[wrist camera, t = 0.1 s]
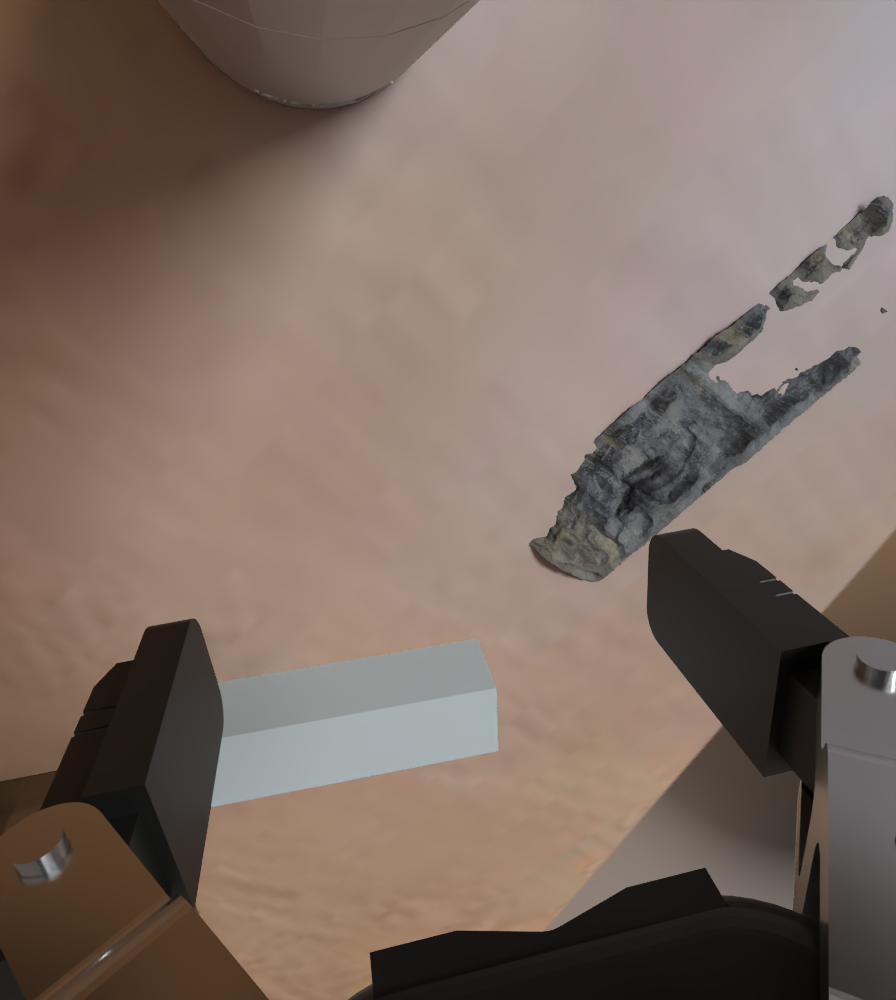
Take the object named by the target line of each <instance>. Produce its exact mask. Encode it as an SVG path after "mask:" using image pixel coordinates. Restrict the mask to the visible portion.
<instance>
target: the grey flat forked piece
mask: <svg viewBox="0 0 896 1000" xmlns="http://www.w3.org/2000/svg"><path fill="white" fill-rule="evenodd" d="M892 209H893V203H892V201H891V200H890V199H889V198H888V197H885V196H882V197H877V198H876V199H874V200H873V201H872V202H871V203H870V204H869V205H868V207H867V208H866V209H864V211H863V212H862V213H859V214H858V215H857V216H856V217H855V218H854V219H853V220H852V221H851V222H850V223H849V224H847V225H846V226H845V227H844V228H843V229H842V230H841V231H840V232H839V233H838V234H837V235H835V236H834V237H833V238H834V239H835V240H836V246H837V247H838V248H842V249H845V250H851V249H853V248H854V247H855V248H857V250H856V252H855V254H853V255H851V256H850V258H849V259H848V260H847V261H846V262H844V263H843V266H842V267H841V266H835V265H833V264H832V263H831V262H830V261H829V260H828V259H827V258H826V256H825V251H826V247H827V246H826V245H825V246H824V247H821V248H820V249H819V250H818V251H817V252H815V253H814V254H813V255H811V256H810V257H809V258H808V259H807V260H806V261H804V263H803V264H802V265H801V266H800V267H798V268H797V269H796V270H795V271H794V272H793V273H792V274H791V275H790V276H787V279H785V280H783V281H782V282H781V283H780V284H779V285H778V286H777V287H776V288H775V289H774V290H772V291H771V292H770V295H772V296H773V297H774V298H775V301H776V303H777V305H778V306H779V310H780V311H786V310H789V309H793V308H795V307H796V306H801V305H803V304H804V303H806V302H809V301H812V300H813V299H814V297H815V296H816V295H817V294H818V293H819V291H818V290H814V291H809V292H807V291H804V289H803V288H800V287H799V286H793V280H795V279H796V278H799V279H800V280H801V281H803V282H808V281H810V282H813V281H816V282H819V284H822V283H823V282H824V281H826V280H827V279H828V277H829V276H830V275H831V274H832V273H834V272H840V271H841V269H842V268H844V269H849V270H850V267H851V266H852V264H853V263H854V261H855V260H856V258H857V257H858V255H859V254H860V252H861V251H862V249H863V247H864V244H865V241H866V239H867V237H868V236H871V237H872V236H882V235H884V234H885V233H887V232H888V231H889V229H890V226H891V225H890V224H891V223H892V221H893V213H892ZM769 309H770V308H769V307H768V306H767V305H765V307H764V305H762V304H759V303H758V304H757V305H756V306H755V307H753V308H752V309H751V310H750V311H749V312H748V313H746V314H745V315H743V316H742V318H741V319H739V320H738V321H737V322H736V323H735V324H734V325H733V326H730V327H729V329H726V330H723V331H722V332H721V333H720V334H719V335H716V336H714V338H713V339H711V340H710V342H709V343H708V344H707V345H706V346H705V347H703V348H702V349H701V351H700V352H698V353H695V354H694V356H692V357H691V359H690V360H688V362H686V363H685V364H683V365H682V366H681V367H680V368H679V369H678V370H677V371H675V372H674V373H671V375H669V376H667V378H666V379H664V380H663V381H662V382H661V383H659V384H658V385H657V386H656V387H655V388H654V389H653V390H652V391H650V392H649V393H648V394H647V395H646V397H645V398H644V400H642V401H640V402H638V403H637V404H636V405H634V406H632V407H631V408H630V409H629V410H628V411H627V412H625V413H624V414H623V415H622V416H621V417H620V418H619V419H618V420H617V421H616V422H614V423H613V424H612V425H611V426H610V427H609V428H608V429H607V430H606V431H605V432H603V433H602V434H601V436H598V437H597V438H596V439H595V441H594V443H595V445H596V447H597V449H596V450H595V451H594V452H593V454H586V455H585V461H584V462H583V463H582V464H581V466H580V468H579V469H578V471H577V472H575V473H574V474H571V475H572V478H573V480H574V483H575V485H576V486H577V488H576V490H575V491H574V492H573V493H571V494H570V495H568V496H567V497H565V500H564V505H563V508H562V509H561V510H559V511H557V512H558V515H557V516H556V517H557V521H556V524H555V526H553V527H551V528H550V530H549V533H548V535H547V536H546V537H541V538H536V539H533V540H532V541H531V542H530V543H529V544H530V546H533V547H534V548H535V550H536V551H537V552H539V553H540V554H541V556H542V557H544V558H545V559H546V560H547V561H549V562H550V563H551V564H553V565H556V567H558V568H560V570H563V571H565V572H569V573H571V574H572V575H573V576H577V577H578V578H582V579H583V580H589V581H595V582H596V581H600V580H602V579H603V578H605V577H606V576H608V574H609V573H611V572H612V571H613V570H614V569H615V568H616V567H617V566H618V565H621V563H622V562H623V561H624V560H625V559H626V558H628V557H629V556H630V555H632V553H633V552H635V551H637V550H638V549H639V548H641V547H642V546H644V544H645V543H646V542H647V541H649V540H650V539H651V537H653V536H655V535H656V534H657V533H658V532H659V531H661V530H662V529H663V528H664V527H666V526H667V525H668V524H669V523H670V522H671V521H672V520H673V519H675V518H676V517H677V516H678V515H679V514H680V513H681V512H683V511H684V510H685V509H686V508H687V507H688V506H690V505H691V504H692V503H693V502H694V501H695V500H697V498H699V497H700V496H702V494H704V493H705V492H706V491H707V490H708V489H710V487H712V486H713V485H714V484H715V483H716V482H718V481H719V480H721V479H722V478H723V477H724V476H725V475H726V474H727V473H728V472H729V471H730V470H731V469H733V468H735V467H737V466H739V465H742V464H743V463H746V462H747V461H748V460H749V459H750V458H751V457H752V456H753V455H755V454H756V453H757V452H758V451H760V450H761V449H762V447H763V446H764V445H766V444H767V443H768V442H769V441H770V440H772V438H774V437H775V436H776V435H778V434H779V433H780V432H781V430H782V429H783V428H784V427H786V426H787V425H789V424H790V423H791V422H792V421H793V420H794V419H795V418H797V417H798V416H799V415H801V414H802V413H804V412H805V411H806V410H808V408H809V407H811V406H812V405H813V404H814V403H815V402H816V401H817V400H818V399H819V398H820V397H822V396H824V395H825V394H826V393H827V392H828V391H830V390H831V389H832V388H833V387H834V386H835V385H836V384H837V383H839V382H841V381H842V379H845V378H846V377H847V376H848V375H850V373H852V372H853V370H855V368H856V367H857V366H859V365H860V361H859V359H858V358H857V356H858V355H859V353H860V352H861V351H860V350H859V349H858V348H856V347H848V348H847V349H845V350H844V351H843V350H842V351H836V352H835V353H834V354H833V355H832V356H831V357H830V358H829V359H827V360H825V361H823V362H821V363H820V364H818V365H815V366H813V367H812V368H811V369H808V370H806V371H804V372H801V373H800V374H799V376H798V377H796V378H793V379H787V380H786V381H784V382H783V384H782V385H781V386H780V387H779V388H778V390H777V391H776V390H775V388H774V389H771V390H770V391H768V392H766V393H765V394H764V395H763V396H759V395H758V394H756V395H752V396H751V393H750V392H749V391H745V392H740V393H739V394H737V393H736V392H735V391H733V390H732V388H731V387H730V385H729V384H728V383H727V382H726V381H723V380H722V381H720V379H719V376H717V377H716V378H717V381H718V383H716V382H714V381H713V380H711V379H710V377H709V376H708V373H709V372H710V371H711V369H712V368H713V367H714V366H715V365H716V364H720V363H723V362H726V361H728V360H730V359H731V358H733V357H734V356H735V355H737V354H738V353H739V352H740V351H742V349H743V348H744V347H745V346H746V345H748V344H749V343H750V342H751V341H753V340H754V339H755V338H756V337H757V335H758V334H759V333H760V332H762V330H763V325H764V322H765V320H766V313H767V310H769ZM880 311H881V312H882V313H885V312H887V311H886V310H885V309H884V308H881V310H880ZM795 370H797V371H798V369H797V368H795ZM785 383H789V385H788V387H787V389H786V392H785V393H784V395H782V394H781V393H780V394H778V392H779V390H780V388H781V387H782V386H783V385H784V384H785Z"/></svg>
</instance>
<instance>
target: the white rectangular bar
mask: <svg viewBox="0 0 896 1000" xmlns="http://www.w3.org/2000/svg"><path fill="white" fill-rule="evenodd" d="M217 683H218V686H219V689H220V693H221V697H222V703H223V713H224V726H223V734H222V740H221V746H220V753H219V759H218V765H217V771H216V778H215V784H214V790H213V796H212V803H211V807H215V806H220V805H225V804H230V803H235V802H241V801H246V800H251V799H256V798H261V797H266V796H271V795H276V794H281V793H286V792H292V791H297V790H302V789H307V788H312V787H317V786H322V785H327V784H332V783H338V782H343V781H348V780H353V779H358V778H363V777H368V776H373V775H378V774H383V773H389V772H394V771H399V770H404V769H409V768H414V767H419V766H424V765H429V764H435V763H440V762H445V761H450V760H455V759H460V758H465V757H470V756H475V755H481V754H486V753H491V752H496V751H498V725H497V693H496V686H495V683H494V680H493V678H492V675H491V672H490V670H489V667H488V664H487V662H486V659H485V656H484V654H483V651H482V648H481V646H480V643H479V640H478V638H477V639H471V640H465V641H460V642H454V643H448V644H442V645H436V646H430V647H424V648H418V649H412V650H406V651H400V652H395V653H389V654H383V655H377V656H371V657H365V658H359V659H353V660H347V661H341V662H335V663H330V664H324V665H318V666H312V667H306V668H300V669H294V670H288V671H282V672H276V673H270V674H265V675H259V676H253V677H247V678H241V679H235V680H229V681H223V682H217Z"/></svg>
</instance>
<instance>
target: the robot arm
mask: <svg viewBox="0 0 896 1000" xmlns="http://www.w3.org/2000/svg"><path fill="white" fill-rule="evenodd" d="M157 1H158V2H159V3H160V5H161V6H162V7H163V8H164V9H165V10H166V11H167V13H168V14H169V15H170V16H171V17H172V18H173V19H174V21H175V22H176V23H177V24H178V26H179V27H180V28H181V29H182V30H183V31H184V32H185V33H186V34H187V35H188V36H189V37H190V39H191V40H192V41H193V42H194V43H195V44H196V45H197V46H198V48H199V49H200V50H201V51H202V52H203V53H204V54H205V56H206V57H207V58H208V59H209V60H210V61H211V62H212V63H213V64H214V65H215V66H217V67H218V68H219V69H220V70H222V71H223V72H224V73H225V74H226V75H228V76H229V77H230V78H231V79H233V80H234V81H235V82H236V83H237V84H239V85H241V86H243V87H245V88H247V89H248V90H250V91H252V92H254V93H256V94H258V95H260V96H262V97H263V98H265V99H267V100H271V101H274V102H278V103H281V104H285V105H288V106H292V107H295V108H311V109H329V108H335V107H340V106H345V105H350V104H354V103H356V102H358V101H361V100H363V99H365V98H367V97H369V96H372V95H374V94H375V93H378V92H380V91H381V90H382V89H384V88H386V87H387V86H389V85H391V84H392V83H393V82H394V80H395V79H396V78H397V77H398V76H400V75H401V74H402V73H403V72H404V71H405V70H406V69H407V68H409V67H410V66H411V65H412V64H413V63H414V62H415V61H416V60H417V59H419V58H420V57H421V56H422V55H423V54H424V53H425V52H426V51H427V50H428V49H429V48H430V47H431V46H432V45H433V44H434V43H435V42H436V41H438V40H439V39H440V38H441V37H442V36H443V35H444V34H445V33H446V32H447V31H448V30H449V29H450V28H451V27H452V26H453V25H454V24H455V23H456V22H457V21H458V20H460V19H461V18H462V17H463V16H464V15H465V14H466V13H467V12H468V11H469V10H470V9H471V8H472V7H473V6H474V5H475V4H476V3H477V2H478V1H479V0H157ZM647 615H648V620H649V624H650V627H651V630H652V633H653V635H654V637H655V639H656V640H657V642H658V643H659V645H660V646H661V647H662V648H663V650H664V651H665V652H666V653H667V655H668V656H669V657H670V659H671V660H672V661H673V662H674V664H675V665H676V666H677V667H678V669H679V670H680V671H681V672H682V674H683V675H684V676H685V678H686V679H687V680H688V681H689V683H690V684H691V685H692V686H693V688H694V689H695V690H696V692H697V693H698V694H699V695H700V697H701V698H702V699H703V700H704V702H705V703H706V704H707V706H708V707H709V708H710V709H711V711H712V712H713V713H714V714H715V716H716V717H717V718H718V719H719V721H720V722H721V723H722V725H723V726H724V727H725V728H726V730H727V731H728V732H729V733H730V735H731V736H732V737H733V739H734V740H735V741H736V742H737V744H738V745H739V746H740V747H741V749H742V750H743V751H744V752H745V754H746V755H747V756H748V758H749V759H750V760H751V761H752V763H753V764H754V765H755V766H756V768H757V769H758V770H759V772H760V773H761V774H762V775H763V777H766V776H770V775H775V774H779V773H783V772H787V771H791V770H793V771H794V772H795V773H796V774H797V776H798V777H799V778H800V779H801V782H800V788H799V793H798V807H797V832H796V854H795V878H794V898H793V910H789V909H786V908H783V907H781V906H778V905H775V904H772V903H768V902H763V901H759V900H755V899H751V898H744V897H736V896H723V895H721V894H720V892H719V890H718V889H717V887H716V885H715V884H714V882H713V880H712V879H711V877H710V875H709V874H708V872H707V870H706V868H702V869H698V870H694V871H691V872H687V873H682V874H679V875H675V876H671V877H667V878H663V879H659V880H655V881H651V882H647V883H643V884H639V885H635V886H631V887H627V888H625V889H624V890H622V891H620V892H618V893H617V894H615V895H613V896H612V897H610V898H608V899H607V900H605V901H603V902H601V903H600V904H598V905H596V906H594V907H593V908H591V909H589V910H588V911H586V912H584V913H582V914H581V915H579V916H577V917H576V918H574V919H572V920H570V921H569V922H567V923H565V924H564V925H562V926H560V927H558V928H556V929H554V930H551V931H545V932H518V931H453V932H449V933H445V934H441V935H437V936H433V937H430V938H426V939H422V940H418V941H414V942H410V943H406V944H402V945H398V946H394V947H390V948H386V949H382V950H378V951H374V952H370V959H371V971H372V984H371V985H370V986H368V987H366V988H365V989H363V990H361V991H359V992H358V993H356V994H355V995H354V996H352V997H351V998H350V999H348V1000H896V643H893V642H890V641H887V640H882V639H878V638H870V637H849V636H848V635H847V634H846V633H844V632H843V631H842V630H841V629H839V628H838V627H837V626H835V625H834V624H833V623H832V622H831V621H829V620H828V619H827V618H826V617H824V616H823V615H822V614H821V613H820V612H818V611H817V610H816V609H815V608H813V607H812V606H811V605H810V604H809V603H807V602H806V601H805V600H804V599H802V598H801V597H800V596H799V595H797V594H793V592H792V590H791V589H790V588H789V587H788V586H786V585H785V584H784V583H783V582H781V581H777V580H776V577H775V576H774V575H773V574H771V573H770V572H769V571H768V570H767V569H765V568H764V567H763V566H762V565H760V564H759V563H758V562H757V561H755V560H752V559H750V558H748V557H745V556H743V555H741V554H738V553H736V552H734V551H731V550H729V549H728V550H721V549H720V548H719V547H718V546H717V545H716V544H714V543H713V542H712V541H711V540H710V539H709V538H707V537H706V536H705V535H704V534H703V533H701V532H700V531H699V530H697V529H693V528H692V529H687V530H682V531H676V532H671V533H665V534H660V535H655V536H653V537H652V539H651V541H650V545H649V561H648V590H647ZM83 713H84V716H81V718H80V720H79V722H78V724H77V727H76V729H75V731H74V734H75V736H74V737H72V738H71V740H70V743H69V745H68V747H67V749H66V752H65V754H64V756H63V759H62V761H61V763H60V765H59V768H58V770H57V772H56V775H55V777H54V779H53V781H52V784H51V786H50V788H49V791H48V793H47V795H46V797H45V800H44V802H43V804H42V806H41V809H40V811H38V812H36V813H34V814H32V815H30V816H28V817H27V818H25V819H23V820H21V821H20V822H19V823H17V824H16V825H14V826H13V827H11V828H10V829H9V830H8V831H6V832H5V833H4V834H3V835H2V836H1V837H0V1000H269V999H268V998H267V997H266V996H265V994H264V993H263V992H262V991H261V990H260V988H259V987H258V986H257V985H256V983H255V982H254V981H253V980H252V979H251V977H250V976H249V975H248V974H247V973H246V971H245V970H244V969H243V968H242V967H241V965H240V964H239V963H238V962H237V960H236V959H235V958H234V957H233V956H232V954H231V953H230V952H229V951H228V950H227V948H226V947H225V946H224V945H223V944H222V942H221V941H220V940H219V939H218V938H217V936H216V935H215V934H214V933H213V931H212V930H211V929H210V928H209V927H208V925H207V924H206V923H205V922H204V921H203V919H202V918H201V917H200V916H199V915H198V913H197V912H196V911H195V910H194V909H195V902H196V896H197V890H198V884H199V877H200V871H201V865H202V859H203V852H204V846H205V840H206V834H207V828H208V821H209V815H210V809H211V803H212V796H213V790H214V784H215V778H216V771H217V765H218V759H219V753H220V746H221V740H222V734H223V726H224V713H223V703H222V697H221V693H220V689H219V686H218V683H217V679H216V676H215V673H214V669H213V666H212V663H211V660H210V656H209V653H208V650H207V647H206V643H205V640H204V637H203V633H202V630H201V628H200V625H199V623H198V622H197V620H196V619H188V620H183V621H177V622H172V623H166V624H161V625H155V626H150V627H147V628H146V630H145V632H144V634H143V637H142V639H141V642H140V645H139V647H138V650H137V653H136V655H135V658H134V660H132V661H127V662H122V663H117V664H116V665H115V666H114V667H113V668H112V669H111V670H110V671H109V672H108V673H107V674H106V675H105V676H104V677H103V678H102V679H101V680H100V681H99V682H98V683H97V684H96V685H95V686H94V688H93V690H92V693H91V695H90V697H89V699H88V702H87V704H86V706H85V708H84V711H83Z"/></svg>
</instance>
